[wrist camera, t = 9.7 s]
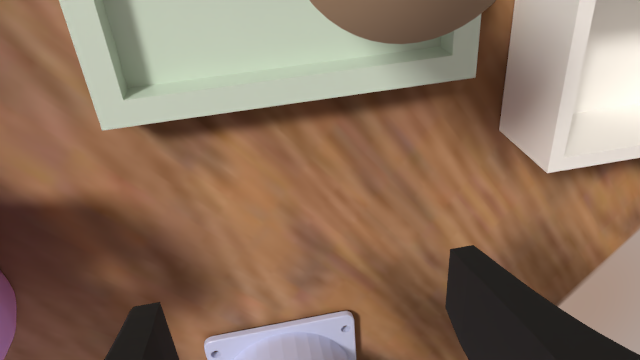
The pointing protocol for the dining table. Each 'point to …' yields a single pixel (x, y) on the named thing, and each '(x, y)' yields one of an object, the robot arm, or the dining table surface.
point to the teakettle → (6, 315)
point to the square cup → (573, 82)
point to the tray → (240, 57)
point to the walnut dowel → (401, 17)
